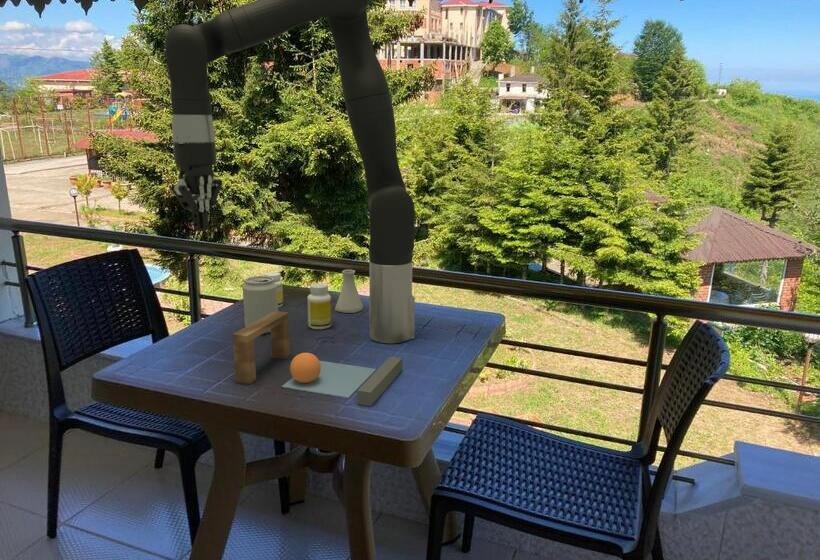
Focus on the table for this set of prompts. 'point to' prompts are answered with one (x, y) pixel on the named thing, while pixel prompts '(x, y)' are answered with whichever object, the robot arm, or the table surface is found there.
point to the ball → (305, 367)
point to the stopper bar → (379, 381)
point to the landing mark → (334, 380)
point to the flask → (349, 295)
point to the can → (259, 298)
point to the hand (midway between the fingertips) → (201, 230)
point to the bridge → (245, 344)
